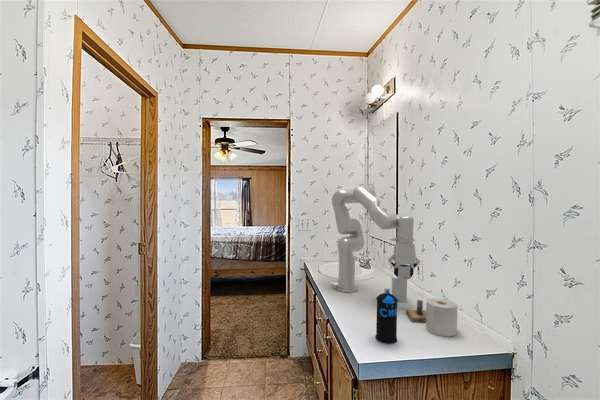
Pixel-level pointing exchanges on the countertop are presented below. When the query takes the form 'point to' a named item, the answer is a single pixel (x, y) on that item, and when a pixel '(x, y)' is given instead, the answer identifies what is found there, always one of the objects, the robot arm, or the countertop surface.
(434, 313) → the toilet paper roll
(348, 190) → the robot arm
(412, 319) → the shaft block
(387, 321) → the aerosol can
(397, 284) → the supplement box
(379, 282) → the countertop surface
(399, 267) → the hub
